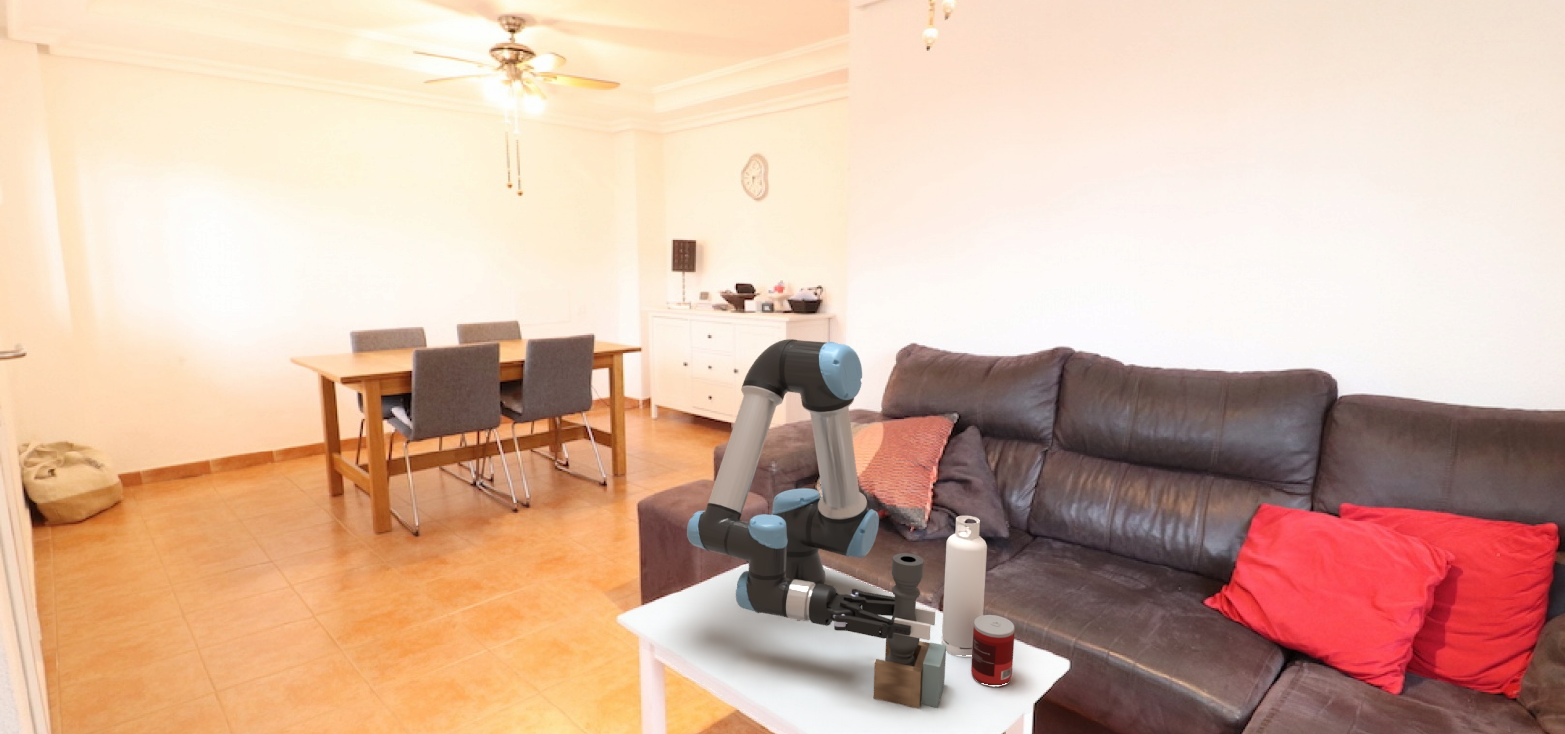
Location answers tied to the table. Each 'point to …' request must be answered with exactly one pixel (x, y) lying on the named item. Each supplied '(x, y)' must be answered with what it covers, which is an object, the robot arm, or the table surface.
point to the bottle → (963, 586)
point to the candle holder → (905, 605)
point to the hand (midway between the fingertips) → (932, 624)
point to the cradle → (900, 678)
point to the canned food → (992, 649)
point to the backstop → (933, 675)
